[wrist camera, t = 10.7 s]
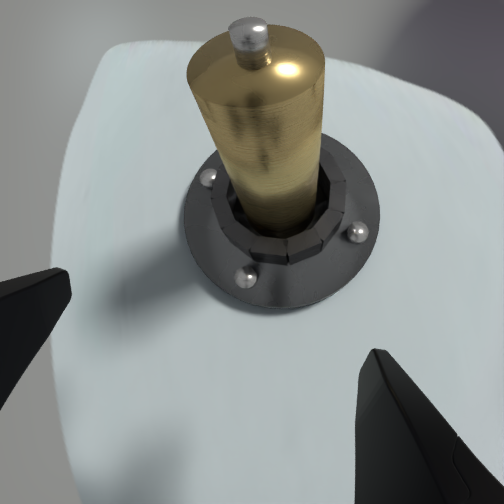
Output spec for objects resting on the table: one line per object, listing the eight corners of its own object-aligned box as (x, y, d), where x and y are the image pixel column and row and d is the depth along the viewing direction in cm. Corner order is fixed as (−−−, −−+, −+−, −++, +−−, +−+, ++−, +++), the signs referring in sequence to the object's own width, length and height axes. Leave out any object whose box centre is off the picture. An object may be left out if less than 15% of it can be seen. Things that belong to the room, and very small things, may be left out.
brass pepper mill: (329, 206, 21) (356, 25, 7) (279, 254, 21) (240, 98, 7) (280, 164, 23) (252, -15, 9) (231, 207, 22) (147, 43, 8)
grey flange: (408, 261, 20) (426, 247, 17) (222, 338, 21) (208, 338, 17) (325, 113, 24) (326, 85, 21) (170, 171, 25) (153, 149, 22)
